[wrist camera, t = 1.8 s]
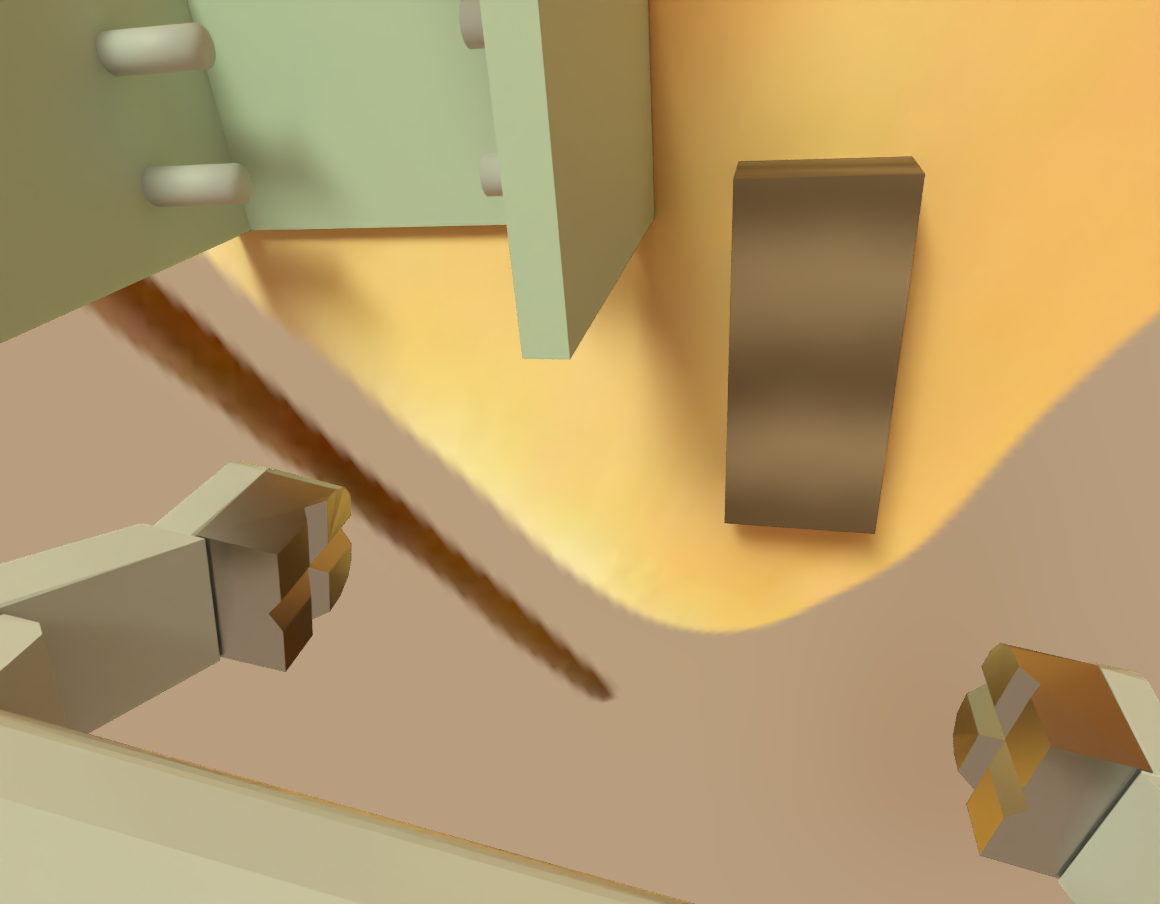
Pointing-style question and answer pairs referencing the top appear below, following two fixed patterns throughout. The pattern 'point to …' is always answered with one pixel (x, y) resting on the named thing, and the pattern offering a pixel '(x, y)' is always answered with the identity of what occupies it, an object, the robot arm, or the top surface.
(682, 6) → the top surface
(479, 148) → the shelf frame
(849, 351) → the plank
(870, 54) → the top surface
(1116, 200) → the top surface
